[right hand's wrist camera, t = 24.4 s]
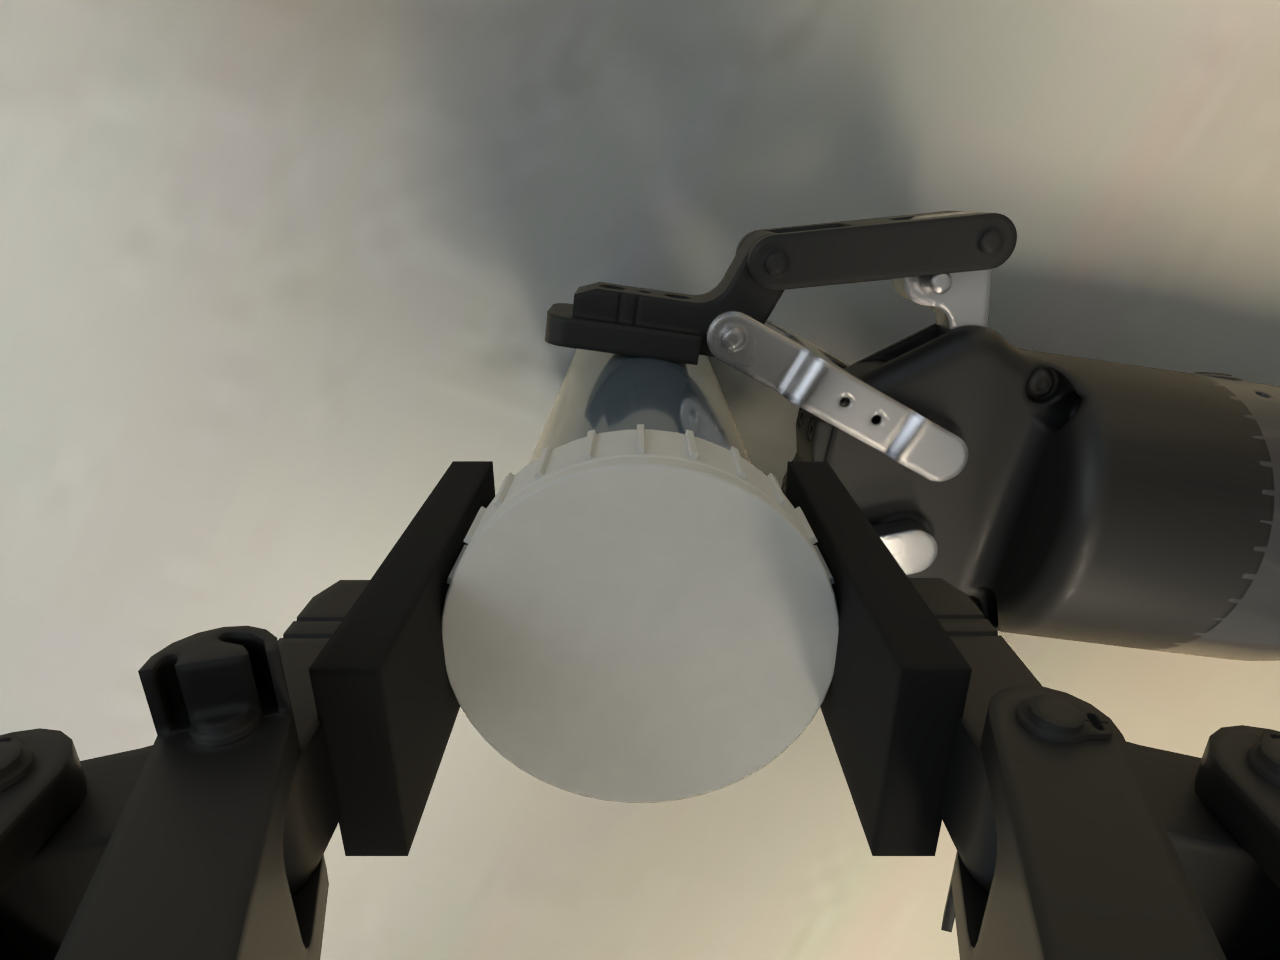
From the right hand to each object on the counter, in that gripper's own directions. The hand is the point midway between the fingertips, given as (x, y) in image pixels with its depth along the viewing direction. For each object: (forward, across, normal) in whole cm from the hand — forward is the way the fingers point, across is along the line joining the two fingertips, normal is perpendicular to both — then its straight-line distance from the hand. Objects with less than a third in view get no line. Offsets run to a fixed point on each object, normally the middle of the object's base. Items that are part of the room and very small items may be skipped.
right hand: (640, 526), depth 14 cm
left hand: (+5, -3, 0) cm, 6 cm away
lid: (-4, 0, 0) cm, 4 cm away
